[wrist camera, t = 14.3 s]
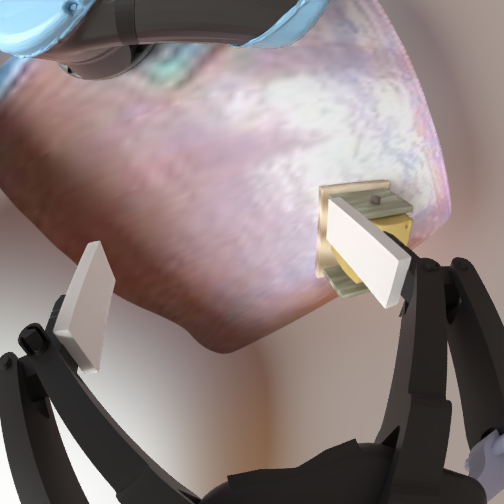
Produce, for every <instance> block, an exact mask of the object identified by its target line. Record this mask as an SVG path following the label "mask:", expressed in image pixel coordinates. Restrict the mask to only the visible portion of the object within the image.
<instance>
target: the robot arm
mask: <svg viewBox="0 0 504 504" xmlns="http://www.w3.org/2000/svg"><path fill="white" fill-rule="evenodd" d="M329 1H330V0H0V51H3V52H6V53H9V54H12V55H13V56H16V57H20V58H26V57H27V58H31V57H32V58H40V59H48V60H54V61H57V63H58V64H59V66H60V67H61V68H62V69H63V70H64V71H65V72H67V73H68V74H70V75H72V76H74V77H77V78H80V79H85V80H104V79H109V78H113V77H116V76H118V75H121V74H123V73H125V72H127V71H128V70H130V69H131V68H133V67H134V66H136V65H137V64H138V63H139V62H140V61H142V60H143V59H144V58H145V56H146V55H147V54H148V53H149V52H150V50H151V49H152V48H153V46H154V44H155V43H211V44H227V45H229V46H230V47H234V48H242V47H259V48H270V49H274V48H279V47H284V46H288V45H290V44H292V43H294V42H296V41H297V40H299V39H300V38H301V37H303V36H304V35H305V34H306V33H307V32H308V31H309V30H310V29H311V28H312V27H313V26H314V24H315V23H316V22H317V21H318V19H319V18H320V17H321V15H322V13H323V12H324V10H325V9H326V7H327V5H328V3H329ZM326 239H327V241H328V242H329V243H330V244H331V245H332V246H333V247H334V248H335V250H336V251H337V252H338V253H339V254H340V255H341V256H342V258H343V259H344V260H345V261H346V262H347V263H348V265H349V266H350V267H351V268H352V269H353V270H354V272H355V273H356V274H357V275H358V276H359V278H360V279H361V280H362V281H363V282H364V284H365V285H366V286H367V287H368V288H369V290H370V291H371V292H372V293H373V295H374V296H375V297H376V298H377V300H378V301H379V302H380V303H381V304H382V306H383V307H384V308H385V309H387V308H389V307H392V306H395V305H397V304H398V301H399V298H400V295H401V296H402V297H403V298H404V299H405V301H404V304H403V307H402V310H401V313H400V315H399V317H401V316H402V320H401V329H400V337H399V344H398V351H397V357H396V363H395V369H394V375H393V380H392V385H391V390H390V394H389V399H388V403H387V408H386V412H385V416H384V420H383V423H382V426H381V429H380V431H379V433H378V435H377V437H376V439H375V442H374V443H357V441H356V439H353V440H350V441H347V442H345V443H342V444H340V445H338V446H335V447H332V448H329V449H327V450H325V451H323V452H322V453H320V454H319V455H317V456H316V457H314V458H312V459H311V460H309V461H308V462H306V463H304V464H302V465H300V466H299V467H296V468H286V469H259V470H254V471H250V472H245V473H240V474H235V475H229V476H227V478H228V481H227V482H225V483H222V484H221V485H219V486H217V487H216V488H214V489H213V490H211V491H210V492H209V493H208V494H207V495H205V497H204V498H203V499H200V498H199V497H198V496H197V495H195V494H194V493H193V492H191V491H190V490H189V489H187V488H186V487H184V486H183V485H181V484H180V483H179V482H177V481H176V480H175V479H174V478H173V477H171V476H170V475H169V474H168V473H167V472H166V471H165V470H163V469H162V468H161V467H160V466H159V465H158V464H157V463H156V462H154V461H153V460H152V459H151V458H150V457H149V456H148V455H147V454H146V453H145V452H144V451H143V450H142V449H141V448H140V447H139V446H138V445H137V444H136V443H135V442H134V441H133V440H132V439H131V438H130V437H129V436H128V435H127V434H126V432H125V431H124V430H123V429H122V428H121V427H120V426H119V425H118V424H117V423H116V421H115V420H114V419H113V418H112V417H111V416H110V414H109V413H108V412H107V411H106V410H105V409H104V407H103V406H102V405H101V404H100V402H99V401H98V400H97V399H96V397H95V396H94V395H93V394H92V392H91V391H90V390H89V388H88V387H87V386H86V384H85V383H84V382H83V380H82V379H81V378H80V376H79V375H78V374H77V369H78V366H79V367H80V368H81V370H82V371H83V372H84V373H85V374H86V373H98V372H99V366H100V359H101V352H102V346H103V340H104V334H105V328H106V322H107V317H108V312H109V307H110V301H111V298H112V293H113V289H114V284H115V278H114V276H113V273H112V271H111V268H110V266H109V263H108V261H107V258H106V255H105V253H104V250H103V248H102V245H101V242H100V241H96V242H91V243H88V245H87V247H86V249H85V251H84V253H83V255H82V258H81V260H80V262H79V264H78V267H77V269H76V271H75V274H74V276H73V278H72V281H71V283H70V286H69V288H68V291H67V293H66V295H61V296H60V298H59V299H58V300H57V301H56V303H55V305H54V307H53V310H52V311H53V312H52V313H51V316H50V319H49V321H48V324H47V326H46V329H45V331H44V329H43V328H42V326H41V325H40V324H38V323H32V324H30V325H28V326H26V327H25V328H24V329H23V330H22V331H21V333H20V335H19V338H18V343H19V345H20V346H21V347H22V348H23V350H24V351H25V352H26V354H27V355H26V356H24V357H21V358H19V359H18V357H17V356H16V355H15V354H14V353H13V352H8V353H5V354H4V355H2V356H1V358H0V419H1V426H2V432H3V438H4V443H5V448H6V453H7V458H8V462H9V466H10V469H11V473H12V477H13V480H14V484H15V487H16V490H17V493H18V496H19V499H20V502H21V504H89V502H88V500H87V498H86V496H85V494H84V492H83V490H82V488H81V486H80V484H79V482H78V479H77V477H76V475H75V473H74V471H73V468H72V466H71V463H70V460H69V458H68V455H67V453H66V450H65V447H64V445H63V442H62V439H61V436H60V433H59V430H58V427H57V424H56V420H55V417H54V414H53V410H52V407H51V403H50V400H51V402H52V403H53V405H54V407H55V409H56V410H57V412H58V414H59V415H60V417H61V418H62V420H63V422H64V423H65V425H66V426H67V428H68V430H69V431H70V433H71V434H72V436H73V437H74V439H75V440H76V441H77V443H78V444H79V446H80V447H81V449H82V450H83V451H84V453H85V454H86V455H87V457H88V458H89V459H90V461H91V462H92V463H93V465H94V466H95V467H96V468H97V470H98V471H99V472H100V473H101V474H102V476H103V477H104V478H105V479H106V480H107V481H108V483H109V484H110V485H111V486H112V487H113V489H114V490H115V491H116V497H117V499H118V501H119V502H120V503H121V504H487V502H488V501H489V500H491V499H492V498H493V497H494V496H496V495H497V494H498V493H499V492H500V491H501V490H503V489H504V326H503V324H502V321H501V319H500V317H499V315H498V313H497V310H496V308H495V306H494V304H493V302H492V300H491V298H490V296H489V294H488V292H487V290H486V288H485V286H484V284H483V282H482V280H481V279H480V277H479V275H478V273H477V271H476V270H475V268H474V266H473V265H472V264H471V262H469V261H468V260H467V259H464V258H459V257H456V258H454V259H453V260H452V263H451V265H450V266H444V267H443V266H442V267H441V266H440V265H439V264H438V262H436V261H434V260H432V259H429V258H419V257H418V256H417V255H416V254H415V253H414V252H413V251H411V250H410V249H409V248H408V247H407V246H405V244H403V243H402V242H401V241H400V240H399V239H398V238H396V237H395V236H394V235H392V234H390V233H388V232H386V231H381V230H380V229H379V228H378V227H377V226H375V225H374V224H373V223H372V222H371V221H369V220H368V219H367V218H366V217H365V216H363V215H362V214H361V213H360V212H358V211H357V210H356V209H355V208H353V207H352V206H351V205H350V204H348V203H347V202H346V201H344V200H343V199H342V198H341V197H336V198H329V202H328V220H327V236H326ZM447 340H448V344H449V348H450V352H451V355H452V359H453V364H454V368H455V372H456V377H457V382H458V387H459V392H460V398H461V404H462V410H463V417H464V424H465V431H466V437H467V441H468V445H469V448H470V454H469V458H468V459H467V460H466V462H465V469H466V470H467V471H469V475H468V476H466V475H463V474H459V473H457V472H453V471H451V470H447V469H445V468H443V467H444V463H445V457H446V452H447V446H448V439H449V432H450V424H451V415H452V403H451V401H449V400H446V381H447ZM49 398H50V399H49Z"/></svg>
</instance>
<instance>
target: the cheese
mask: <svg viewBox="0 0 504 504" xmlns="http://www.w3.org/2000/svg"><path fill="white" fill-rule="evenodd" d="M368 220H369V221H371V222H372V223H373V224H374V225H375V226H377V227H378V228H379V229H380V230H381V231H386V232H388V233H390V234H392V235H394V236H395V237H396V238H398V239H399V240H400V241H401V242H402V243H403V244H405V246H407V244H408V239H409V235H410V231H411V227H412V223H413V219H411V218H410V217H409V216H408V215H406V214H405V213H402V214H396V215H390V216H385V217H379V218H373V219H368ZM331 251H332V252H333V254H334V256H335V258H336V260H337V261H338V263H339V265H340V266H341V268H342V269H343V271H344V272H345V273H346V274H347V275H348V276H349V277H350V278H351V279H352V280H353V281H354V282H355V283H357V284H358V283H361V282H363V281H362V280H361V279H360V278H359V276H358V275H357V274H356V273H355V272H354V270H353V269H352V268H351V267H350V266H349V265H348V263H347V262H346V261H345V260H344V259H343V258H342V256H341V255H340V254H339V253H338V252H337V251H336V250H335V248H334V247H333V246H332V245H331Z"/></svg>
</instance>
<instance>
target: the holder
mask: <svg viewBox="0 0 504 504" xmlns="http://www.w3.org/2000/svg"><path fill="white" fill-rule="evenodd" d="M389 186H390V182H388V181H386V180H379V181H368V182H358V183H348V184H339V185H330V186H322V187H319V209H318V232H317V250H316V266H315V275H316V276H317V278H322V277H326V278H327V279H328V281H329V282H330V284H331V285H332V287H333V288H334V289H335V291H336V292H337V294H338V295H339V296H340V298H341V299H342V300H343V299H347V298H351V297H354V296H357V295H361V294H364V293H367V292H371V291H370V290H369V288H368V287H367V286H366V285H365V284H364V282H361V283H358V284H357V283H355V282H354V281H353V280H352V279H351V278H350V277H349V276H348V275H347V274H346V273H345V272H344V271H343V269H342V268H341V266H340V265H339V263H338V261H337V260H336V258H335V256H334V254H333V252H332V251H331V244H330V243H329V242H328V241H327V239H326V236H327V220H328V202H329V198H336V197H341V198H342V199H343V200H344V201H346V202H347V203H348V204H350V205H351V206H352V207H353V208H355V209H356V210H357V211H358V212H360V213H361V214H362V215H363V216H365V217H366V218H367V219H373V218H379V217H385V216H390V215H396V214H402V213H408V212H412V211H413V206H412V205H411V204H409V203H408V202H406V201H405V200H403V199H402V198H400V197H398V196H397V195H395V194H394V193H392V192H391V191H389Z"/></svg>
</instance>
